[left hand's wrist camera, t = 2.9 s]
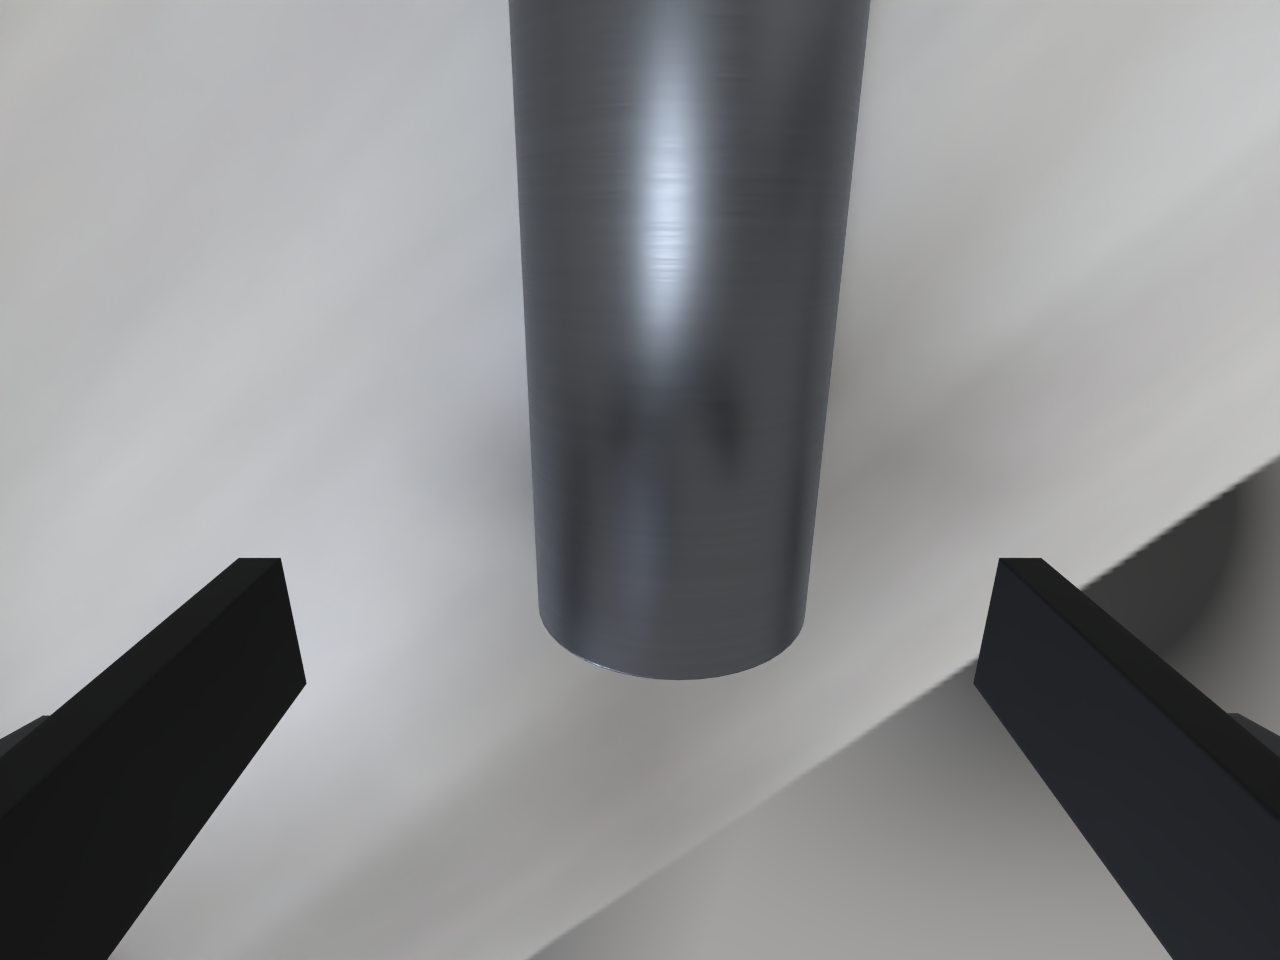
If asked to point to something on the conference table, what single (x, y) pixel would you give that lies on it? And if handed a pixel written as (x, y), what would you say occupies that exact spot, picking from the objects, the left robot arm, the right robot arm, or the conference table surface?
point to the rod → (680, 314)
